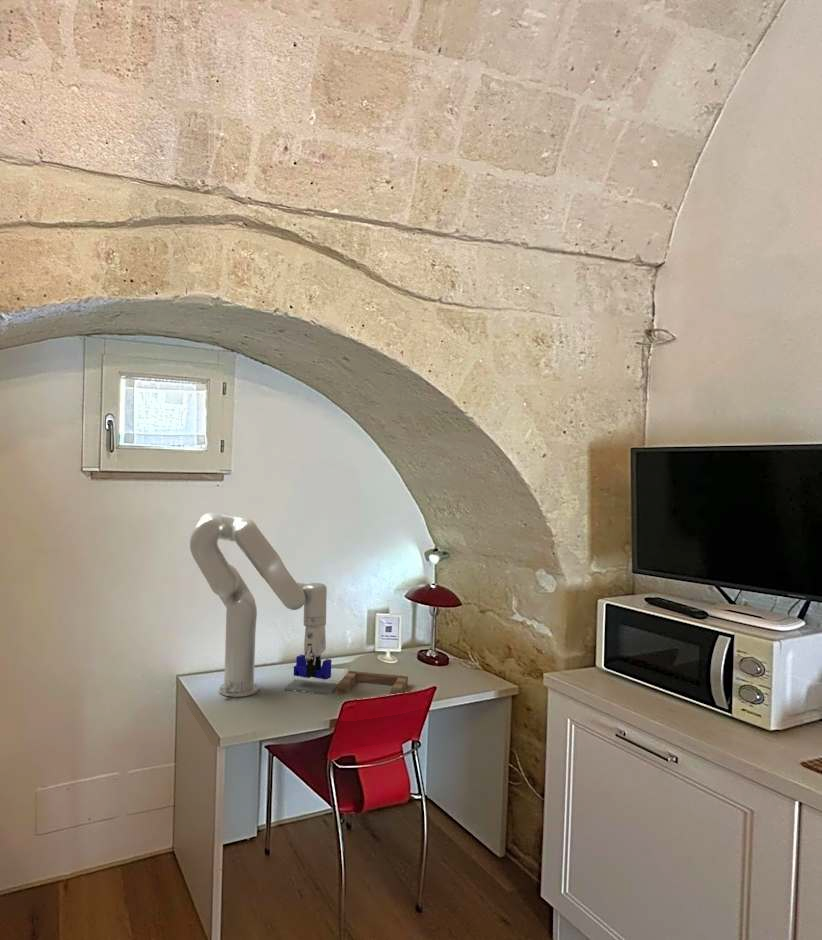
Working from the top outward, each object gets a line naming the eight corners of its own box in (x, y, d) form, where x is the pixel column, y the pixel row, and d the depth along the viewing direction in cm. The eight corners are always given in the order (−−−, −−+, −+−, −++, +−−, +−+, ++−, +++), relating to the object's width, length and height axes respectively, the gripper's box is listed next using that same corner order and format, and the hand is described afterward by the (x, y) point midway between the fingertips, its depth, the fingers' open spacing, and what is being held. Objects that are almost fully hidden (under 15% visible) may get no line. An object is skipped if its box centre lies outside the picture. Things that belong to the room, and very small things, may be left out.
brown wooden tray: (399, 699, 238) (399, 690, 238) (336, 693, 241) (337, 684, 241) (407, 684, 253) (407, 676, 253) (349, 679, 257) (349, 670, 256)
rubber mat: (330, 694, 240) (331, 693, 240) (284, 690, 242) (284, 688, 242) (339, 685, 249) (339, 683, 249) (294, 681, 252) (294, 679, 252)
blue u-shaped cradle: (293, 675, 246) (293, 657, 246) (301, 671, 250) (301, 654, 250) (323, 681, 241) (324, 663, 241) (330, 677, 245) (331, 659, 245)
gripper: (318, 627, 236) (316, 682, 237) (332, 615, 253) (331, 667, 254) (295, 625, 238) (294, 680, 238) (311, 614, 254) (310, 665, 255)
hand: (313, 673), depth 246 cm, fingers closed on blue u-shaped cradle, 4 cm apart
